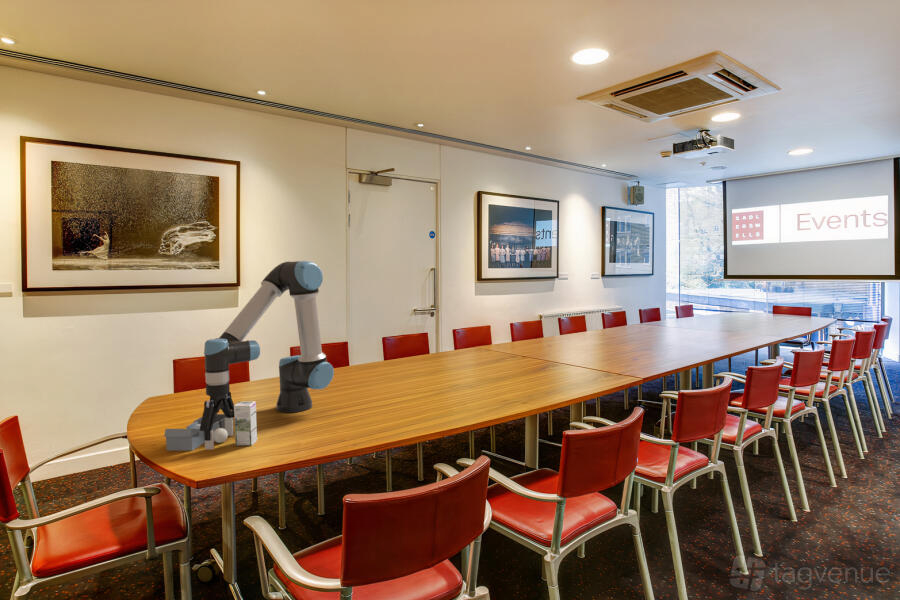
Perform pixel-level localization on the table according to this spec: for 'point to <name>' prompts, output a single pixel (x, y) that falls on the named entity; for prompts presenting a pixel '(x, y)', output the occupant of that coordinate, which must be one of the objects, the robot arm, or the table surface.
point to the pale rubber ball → (220, 435)
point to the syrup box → (245, 423)
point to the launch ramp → (186, 437)
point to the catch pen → (218, 418)
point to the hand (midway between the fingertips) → (219, 442)
